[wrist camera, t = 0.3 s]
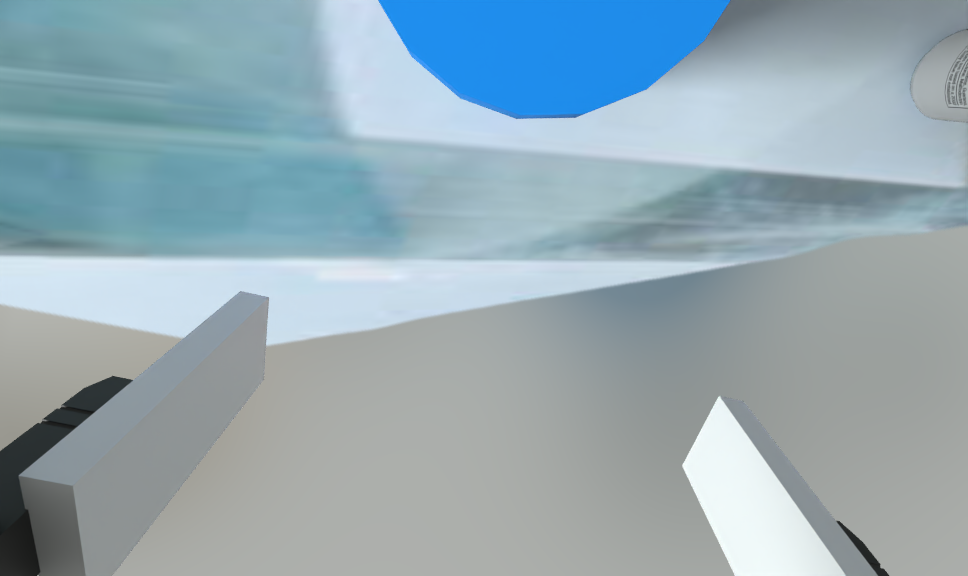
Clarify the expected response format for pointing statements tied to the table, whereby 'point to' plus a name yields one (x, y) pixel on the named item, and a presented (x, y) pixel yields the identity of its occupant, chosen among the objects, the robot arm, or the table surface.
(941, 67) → the energy drink can
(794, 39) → the table surface
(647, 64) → the thermos
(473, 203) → the table surface
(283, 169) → the table surface
